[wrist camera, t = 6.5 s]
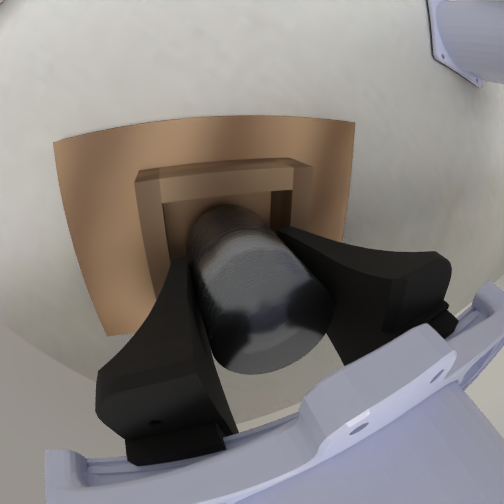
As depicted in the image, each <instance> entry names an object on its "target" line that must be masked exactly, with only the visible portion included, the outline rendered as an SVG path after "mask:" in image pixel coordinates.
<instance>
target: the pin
mask: <svg viewBox="0 0 504 504" xmlns="http://www.w3.org/2000/svg"><path fill="white" fill-rule="evenodd" d="M186 254H187V259H188V263H189V267H190V271H191V275H192V279H193V284H194V288H195V292H196V296H197V300H198V304H199V307H200V311H201V315H202V319H203V322H204V326H205V330H206V333H207V337H208V340H209V344H210V347H211V350H212V354H213V356H214V358H215V359H216V360H217V362H218V363H219V364H220V365H222V366H223V367H224V368H226V369H228V370H230V371H232V372H236V373H240V374H250V375H253V374H263V373H268V372H273V371H276V370H279V369H282V368H284V367H286V366H288V365H290V364H292V363H294V362H296V361H297V360H299V359H301V358H302V357H303V356H305V355H306V354H307V353H308V352H310V351H311V350H312V349H313V348H314V347H315V346H316V345H317V344H318V343H319V341H320V340H321V339H322V338H323V336H324V335H325V333H326V331H327V330H328V328H329V325H330V323H331V320H332V316H333V300H332V297H331V295H330V293H329V292H328V290H327V289H326V288H325V287H324V286H323V284H322V283H321V282H320V281H319V280H318V279H317V278H316V277H315V276H314V275H313V274H312V272H311V271H310V270H309V269H308V268H307V267H306V266H305V265H304V264H303V263H302V262H301V261H300V259H299V258H298V257H297V256H296V255H295V254H294V253H293V252H292V251H291V250H290V249H289V248H288V247H287V246H286V244H285V243H284V242H283V241H282V240H281V239H280V238H279V237H278V236H277V235H276V234H275V233H274V232H273V231H272V230H271V229H270V228H269V226H268V225H267V224H266V223H265V222H264V221H263V220H262V219H261V218H260V217H259V216H258V215H257V214H256V213H254V212H253V211H252V210H250V209H248V208H245V207H242V206H238V205H225V206H220V207H217V208H214V209H212V210H210V211H208V212H206V213H205V214H203V215H202V216H201V217H200V218H199V219H198V220H197V221H196V222H195V223H194V225H193V226H192V228H191V229H190V231H189V234H188V236H187V240H186Z"/></svg>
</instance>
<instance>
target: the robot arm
mask: <svg viewBox="0 0 504 504" xmlns="http://www.w3.org/2000/svg"><path fill="white" fill-rule="evenodd" d="M428 6H429V13H430V21H431V30H432V42H433V55H434V57H435V59H436V60H438V61H440V62H441V63H443V64H445V65H446V66H448V67H449V68H451V69H453V70H454V71H456V72H457V73H459V74H460V75H462V76H463V77H465V78H466V79H467V80H469V81H470V82H472V83H473V84H474V85H476V86H477V87H479V88H482V86H483V81H482V80H485V81H491V82H496V83H501V84H504V1H500V0H453V1H449V0H428ZM277 236H278V237H279V238H280V239H281V240H282V241H283V242H284V243H285V244H286V246H287V247H288V248H289V249H290V250H291V251H292V252H293V253H294V254H295V255H296V256H297V257H298V258H299V259H300V261H301V262H302V263H303V264H304V265H305V266H306V267H307V268H308V269H309V270H310V271H311V272H312V274H313V275H314V276H315V277H316V278H317V279H318V280H319V281H320V282H321V283H322V284H323V286H324V287H325V288H326V289H327V290H328V292H329V293H330V295H331V297H332V300H333V316H332V320H331V323H330V325H329V328H328V330H327V331H326V333H327V335H328V337H329V338H330V340H331V342H332V344H333V345H334V347H335V349H336V351H337V353H338V354H339V356H340V358H341V360H342V362H343V364H344V367H342V368H340V369H338V370H336V371H335V372H333V373H332V374H330V375H328V376H327V377H325V378H323V379H322V380H320V381H319V382H318V383H317V384H316V385H315V386H314V387H313V388H311V389H310V390H309V391H308V392H307V393H306V394H305V396H304V399H303V401H302V403H301V405H300V407H299V412H296V413H294V414H291V415H289V416H286V417H284V418H281V419H278V420H276V421H273V422H270V423H268V424H265V425H262V426H259V427H256V428H253V429H250V430H247V431H244V432H240V433H239V432H238V429H237V427H236V424H235V421H234V419H233V416H232V414H231V411H230V408H229V405H228V403H227V400H226V397H225V394H224V391H223V389H222V386H221V383H220V380H219V377H218V374H217V371H216V368H215V365H214V361H213V357H212V353H211V348H210V344H209V340H208V337H207V333H206V330H205V326H204V322H203V319H202V315H201V311H200V307H199V304H198V300H197V296H196V292H195V288H194V284H193V279H192V275H191V271H190V267H189V264H188V261H187V258H186V256H185V257H182V258H178V259H175V260H172V262H171V264H170V267H169V270H168V273H167V276H166V279H165V281H164V284H163V287H162V289H161V291H160V294H159V296H158V298H157V300H156V302H155V304H154V306H153V308H152V310H151V311H150V313H149V315H148V316H147V318H146V320H145V321H144V322H143V324H142V325H141V326H140V328H139V329H138V330H137V332H136V333H135V335H134V336H133V337H132V338H131V339H130V341H129V342H128V343H127V344H126V345H125V346H124V347H123V348H122V349H121V350H120V351H119V352H118V353H117V354H116V355H115V356H114V357H113V358H112V359H111V360H110V361H109V362H108V363H107V364H106V365H104V366H103V367H102V368H101V369H100V370H99V371H98V376H97V382H96V404H95V407H96V408H95V411H96V414H97V416H98V418H99V419H100V420H101V421H102V422H103V423H104V424H105V425H107V426H108V427H109V428H110V429H112V430H113V431H114V432H116V433H117V434H118V435H120V436H121V437H122V438H124V439H125V445H126V455H127V456H121V457H109V458H88V459H86V458H85V457H84V456H82V455H81V454H79V453H77V452H75V451H72V450H66V449H65V450H64V449H58V450H57V449H47V450H45V490H46V504H504V439H503V438H502V436H501V435H500V434H499V433H498V431H497V430H496V429H495V427H494V426H493V425H492V424H491V422H490V421H489V420H488V419H487V418H486V416H485V415H484V414H483V413H482V411H480V409H479V408H478V407H477V406H476V404H475V403H474V402H473V401H472V400H471V399H470V397H469V396H468V395H467V394H466V393H465V392H464V391H465V389H467V388H468V386H469V385H470V384H471V383H472V382H473V381H474V380H475V379H476V378H477V377H478V376H479V374H480V373H481V372H482V371H483V370H484V369H485V368H486V366H487V365H488V364H489V363H490V362H491V361H492V359H493V358H494V357H495V356H496V355H497V353H498V352H499V351H500V350H501V348H502V347H503V346H504V291H503V290H502V289H501V288H500V287H498V286H497V285H496V284H495V283H493V282H492V281H491V280H489V281H488V282H487V283H485V284H484V285H483V286H482V287H481V288H480V289H479V290H478V292H477V293H476V295H475V297H474V299H473V302H472V305H471V306H470V307H469V308H468V309H467V310H465V311H464V312H463V313H462V314H461V315H459V316H458V317H457V318H455V317H454V316H453V315H452V314H451V313H450V312H449V311H448V310H447V309H448V307H449V304H448V303H447V302H445V301H444V297H445V294H446V291H447V288H448V285H449V282H450V278H451V272H452V268H451V264H450V262H449V261H448V260H447V259H446V258H444V257H443V256H441V255H440V254H439V253H437V252H435V251H430V252H393V251H383V250H374V249H368V248H363V247H358V246H353V245H349V244H345V243H341V242H338V241H334V240H331V239H328V238H325V237H322V236H319V235H316V234H313V233H310V232H307V231H304V230H301V229H298V228H295V227H291V226H288V227H284V228H281V229H277Z"/></svg>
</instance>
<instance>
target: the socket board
mask: <svg viewBox="0 0 504 504" xmlns="http://www.w3.org/2000/svg"><path fill="white" fill-rule="evenodd" d="M354 133H355V123H354V122H347V121H339V120H330V119H319V118H307V117H290V116H215V117H198V118H185V119H174V120H165V121H156V122H149V123H142V124H135V125H129V126H123V127H117V128H112V129H107V130H102V131H97V132H92V133H88V134H83V135H79V136H75V137H71V138H67V139H63V140H60V141H57V142H53V145H54V154H55V161H56V168H57V175H58V180H59V186H60V191H61V196H62V201H63V206H64V211H65V215H66V219H67V223H68V227H69V231H70V235H71V238H72V242H73V246H74V249H75V252H76V256H77V259H78V262H79V265H80V268H81V271H82V274H83V277H84V280H85V283H86V286H87V289H88V291H89V294H90V297H91V299H92V302H93V304H94V307H95V309H96V312H97V314H98V317H99V319H100V321H101V324H102V326H103V328H104V331H105V333H106V335H107V336H113V335H121V334H128V333H136V332H137V330H138V329H139V328H140V326H141V325H142V324H143V322H144V321H145V320H146V318H147V316H148V315H149V313H150V311H151V310H152V308H153V306H154V304H155V302H156V300H157V298H158V296H159V294H160V291H161V289H162V287H163V284H164V281H165V279H166V276H167V273H168V270H169V267H170V264H171V262H172V260H175V259H178V258H182V257H185V256H186V258H187V254H186V240H187V236H188V234H189V231H190V229H191V228H192V226H193V225H194V223H195V222H196V221H197V220H198V219H199V218H200V217H201V216H202V215H203V214H205V213H206V212H208V211H210V210H212V209H214V208H217V207H220V206H225V205H238V206H242V207H245V208H248V209H250V210H252V211H253V212H254V213H256V214H257V215H258V216H259V217H260V218H261V219H262V220H263V221H264V222H265V223H266V224H267V225H268V226H269V228H270V229H271V230H272V231H273V232H274V233H275V234H276V235H277V229H281V228H284V227H288V226H291V227H295V228H298V229H301V230H304V231H307V232H310V233H313V234H316V235H319V236H322V237H325V238H328V239H331V240H334V241H338V242H341V243H342V237H343V231H344V224H345V218H346V210H347V203H348V195H349V187H350V178H351V168H352V158H353V146H354ZM187 261H188V259H187ZM188 264H189V263H188Z"/></svg>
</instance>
